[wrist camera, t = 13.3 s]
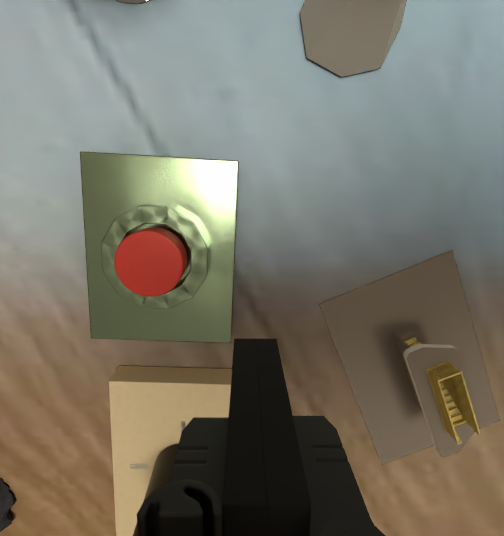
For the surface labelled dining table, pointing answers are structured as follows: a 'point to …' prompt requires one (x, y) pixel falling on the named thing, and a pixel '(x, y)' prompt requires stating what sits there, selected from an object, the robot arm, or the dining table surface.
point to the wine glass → (133, 1)
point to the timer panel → (155, 423)
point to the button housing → (174, 220)
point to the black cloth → (5, 505)
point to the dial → (161, 472)
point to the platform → (413, 359)
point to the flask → (350, 32)
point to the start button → (150, 261)
